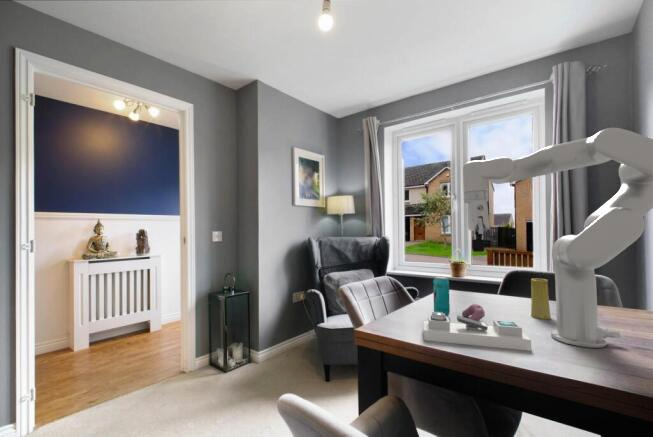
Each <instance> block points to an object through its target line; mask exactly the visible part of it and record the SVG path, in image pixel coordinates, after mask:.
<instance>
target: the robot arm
mask: <svg viewBox="0 0 653 437" xmlns="http://www.w3.org/2000/svg"><path fill="white" fill-rule="evenodd" d="M612 160H613V161H615V162H617V163H619V164H620V165H619V168H618V177H619V178H620V188H619V190H618V191H617V193H616V194H615V195H613V196H612V197H611V198H610V199H608V200H607V201H606V202H605V203H603V205H601V206H600V207H599V208H598V209H597V210H595V211H594V212H592V213H591V214H590V215H589V216H587V217H586V219H585V221H584V224H583V230H582V231H581V232H580V233H578V234H568V235H563V236H561V237H559V238H558V239H556V241H554V243H553V245H552V248H551V257H552V262H553V268H554V269H553V270H554V282H555V308H556V328H557V329H554V330H552V331H551V332H550V336H551V338H553V339H555V340H557V341H559V342H562V343H565V344H568V345H572V346H577V347H582V348H583V347H584V348H591V349H592V348H595V349H600V348H604V347H606V346H607V340H606V339H607V338H610V339H620V338H621V334H620V332H619V331H616V330H615V331H614V330H609V329H608V328H607V329H606V328H601V327H600V326H599V318H598V317H599V314H598V297H597V296H598V295H597V292H598V291H597V278H596V273H595V269H599V268H601V267H602V266H604V265H606V264H608V262H610V261H612V260H613V259H615V257H616V256H618V255H619V254H621V252H624V251H625V250H626V249H627V248H628V247H629V246H630V245H632V244H633V243H635V242H636V241H637V240H638V239H639V238H640V237H641V235H642V234H643V233H644V230H645V226H646V224H645V219H644V218H643V217H644V216H646V215H647V214H648V213H649V212H650V211H651V210H652V209H653V138H650V137H648V136H645V135H642V134H639V133H637V132H634V131H631V130H628V129H623V128H620V127H608V128H604V129H602V130H600V131H598V132H597V133H595V134H594V135H592V136H589V137H585V138H581V139H576V140H572V141H567V142H562V143H558V144H552V145H549V146H547V147H546V146H545V147H544V148H541V149H539V150H537V151H536V152H534V153H531V154H529V155H526V156H523V157H519V158H516V159H512V158H510V157H506V156H499V157H494V158H491V159H486V160H471V161H468V162H466V163H464V164H463V165H462V178H463V179H462V180H463V203H465V204H467V208H466V209H467V227H468V230H469V231H471V237H472V238H471V239H472V240H471V243H472V244H471V245H472V252H475V253H477V252H480V253H481V252H482V253H483V252H485V242H484V240H485V239H484V231H489V230H490V217H489V207H488V203H489V200H490V199H489V182H490V183H491V184H493V185H494V184H496V185H500V184H507V183H512V182H517V181H522V180H528V179H531V178H535V177H540V176H541V177H542V176H546V175H550V174H555V173H560V172H565V171H569V170H574V169H580V168H586V167H591V166H595V165H601V164H604V163H606V162H609V161H612Z"/></svg>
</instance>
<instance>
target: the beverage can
mask: <svg viewBox="0 0 653 437" xmlns="http://www.w3.org/2000/svg"><path fill="white" fill-rule="evenodd" d="M432 283H433V312H442V313H445V316H446V317H448V318H449V317H450V316H449V315H450V312H451V310H450V309H451V307H450V305H451V304H450V281H449V277H447V276H442V275H439V276H438V275H436V276H433V280H432Z"/></svg>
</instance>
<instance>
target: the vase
mask: <svg viewBox="0 0 653 437" xmlns="http://www.w3.org/2000/svg"><path fill="white" fill-rule="evenodd" d="M530 285H531V286H530V289H531V290H530V291H531V293H530V294H531V296H530V297H531V304H530V305H531V307H530V308H531V310H530V311H531V312H530V316H531V317H533V318H535V319H540V320H541V319H542V320H549V319H551V318H552V317H551V309H550V299H549V298H550V296H549V280H548V279H545V278H535V277H534V278H531V279H530Z"/></svg>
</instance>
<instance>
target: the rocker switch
mask: <svg viewBox="0 0 653 437" xmlns="http://www.w3.org/2000/svg"><path fill="white" fill-rule="evenodd" d="M456 320H457V323H460V324H467V325H471V326H474V327H477V328H480V329H484V330H487V328H488V327H487V326H488V325H487V324H486V323H485V322H482V321H475V320H471V319H469V317H468V318H467V317H463V316H462V315H461V316H460V315H457V316H456Z"/></svg>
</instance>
